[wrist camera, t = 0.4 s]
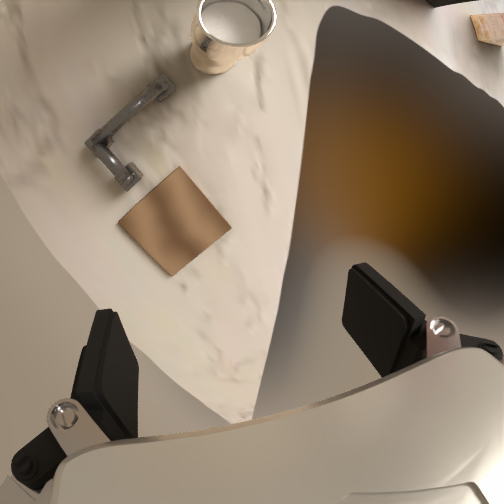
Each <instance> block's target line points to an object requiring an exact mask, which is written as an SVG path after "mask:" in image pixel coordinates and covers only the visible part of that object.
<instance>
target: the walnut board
mask: <svg viewBox="0 0 504 504" xmlns="http://www.w3.org/2000/svg"><path fill="white" fill-rule="evenodd" d="M118 223H119V224H120V225H121V226H122V227H123V228H124V229H125V230H126V231H127V232H128V233H129V234H130V235H131V236H132V237H133V238H134V239H135V240H136V241H137V242H138V243H139V244H140V245H141V246H142V247H143V248H144V249H145V250H146V251H147V252H148V253H149V254H150V255H151V256H152V257H153V258H154V259H155V260H156V261H157V262H158V263H159V264H160V265H161V266H162V267H163V268H164V269H165V270H166V271H167V272H168V273H169V274H170V275H171V276H173V275H175V274H176V273H177V272H178V271H180V270H181V269H182V268H183V267H184V266H186V265H187V264H188V263H189V262H190V261H192V260H193V259H194V258H195V257H197V256H198V255H199V254H200V253H201V252H203V251H204V250H205V249H206V248H208V247H209V246H210V245H211V244H212V243H214V242H215V241H216V240H217V239H219V238H220V237H221V236H222V235H224V234H225V233H226V232H227V231H229V230H230V229H231V226H230V225H229V224H228V222H227V221H226V220H225V219H224V218H223V217H222V215H221V214H220V213H219V212H218V211H217V209H216V208H215V207H214V206H213V205H212V204H211V202H210V201H209V200H208V199H207V198H206V196H205V195H204V194H203V193H202V192H201V191H200V189H199V188H198V187H197V186H196V185H195V183H194V182H193V181H192V180H191V179H190V178H189V176H188V175H187V174H186V173H185V172H184V170H183V169H182V168H181V167H180V166H179V167H178V168H177V169H176V170H175V171H173V172H172V173H171V174H170V175H169V176H168V177H166V178H165V179H164V180H163V181H162V182H161V183H160V184H158V185H157V186H156V187H155V188H154V189H153V190H152V191H150V192H149V193H148V194H147V195H146V196H145V197H144V198H143V199H142V200H141V201H139V202H138V203H137V204H136V205H135V206H134V207H133V208H132V209H131V210H130V211H129V212H128V213H127V214H126V215H125V216H124V217H123V218H121V219H120V220H119V222H118Z"/></svg>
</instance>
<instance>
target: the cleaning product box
mask: <svg viewBox="0 0 504 504" xmlns="http://www.w3.org/2000/svg"><path fill="white" fill-rule="evenodd" d="M426 1H427V2H428V3H430V4H431V5H432V6H433V7H434V8H435V7H440V6H445V5H451V4H456V3H463V2H469V1H477V0H426Z"/></svg>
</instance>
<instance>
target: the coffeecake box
mask: <svg viewBox="0 0 504 504" xmlns="http://www.w3.org/2000/svg"><path fill="white" fill-rule="evenodd" d="M471 19H472V22H473V25H474V28H475V31H476V35H477V38H478V40H479V41H482V42H487V43H491V44H495V45H499V46H504V13H496V14H482V15H471Z"/></svg>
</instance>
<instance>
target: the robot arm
mask: <svg viewBox="0 0 504 504" xmlns="http://www.w3.org/2000/svg"><path fill="white" fill-rule="evenodd" d="M425 316H426V315H425V314H424V313H423V312H422V311H421V310H420V309H419V308H418V307H417V306H415V305H414V304H413V303H412V302H411V301H410V300H409V299H408V298H407V297H405V296H404V295H403V294H402V293H401V292H400V291H399V290H398V289H396V288H395V287H394V286H393V285H392V284H391V283H390V282H388V281H387V280H386V279H385V278H384V277H383V276H381V275H380V274H379V273H378V272H377V271H376V270H374V269H373V268H372V267H371V266H370V265H369V264H367V263H360V264H356V265H353V266H352V268H351V269H350V270H349V272H348V280H347V288H346V296H345V302H344V309H343V316H342V324H343V326H344V327H345V329H346V330H347V332H348V333H349V334H350V335H351V337H352V338H353V340H354V341H355V342H356V344H357V345H358V346H359V347H360V349H361V350H362V351H363V352H364V354H365V355H366V357H367V358H368V359H369V360H370V362H371V363H372V365H373V366H374V367H375V369H376V370H377V371H378V373H379V374H380V375H381V377H382V378H381V379H378V380H376V381H373V382H371V383H368V384H366V385H363V386H361V387H358V388H355V389H353V390H350V391H347V392H345V393H342V394H339V395H336V396H333V397H330V398H327V399H325V400H322V401H319V402H315V403H312V404H309V405H306V406H302V407H299V408H296V409H292V410H289V411H285V412H282V413H278V414H274V415H270V416H266V417H262V418H258V419H254V420H249V421H245V422H240V423H236V424H231V425H226V426H220V427H215V428H209V429H204V430H197V431H190V432H183V433H176V434H168V435H159V436H150V437H140V438H138V375H139V374H138V373H139V366H138V362H137V359H136V357H135V355H134V352H133V350H132V348H131V345H130V343H129V341H128V338H127V336H126V333H125V331H124V328H123V326H122V323H121V321H120V318H119V315H118V313H117V312H113V311H112V309H103V310H97V311H96V314H95V318H94V321H93V324H92V328H91V331H90V335H89V338H88V342H87V345H86V346H84V347H83V349H82V352H81V356H80V359H79V363H78V367H77V371H76V375H75V380H74V384H73V389H72V393H71V398H70V399H69V398H66V399H61V400H59V401H57V402H55V403H54V404H53V405H52V406H51V408H50V409H49V411H48V414H47V423H48V426H49V427H48V428H47V429H45V430H44V431H43V432H42V433H40V434H39V435H38V436H37V437H36V438H34V439H33V440H32V441H30V442H29V443H28V444H27V445H25V446H24V447H23V448H22V449H21V450H19V451H18V452H17V453H16V454H15V455H14V457H13V459H12V463H11V469H12V473H13V475H12V476H11V477H9V476H7V477H6V479H5V480H4V482H3V484H2V485H1V487H0V504H504V355H503V353H502V350H501V348H500V346H499V345H498V344H496V343H495V342H494V341H491V340H487V339H483V338H478V337H473V336H468V335H463V334H459V330H458V327H457V326H456V324H455V323H454V322H453V321H452V320H450V319H448V318H445V317H441V316H436V317H432V318H430V319H429V320H428V321H426V320H424V319H425Z"/></svg>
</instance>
